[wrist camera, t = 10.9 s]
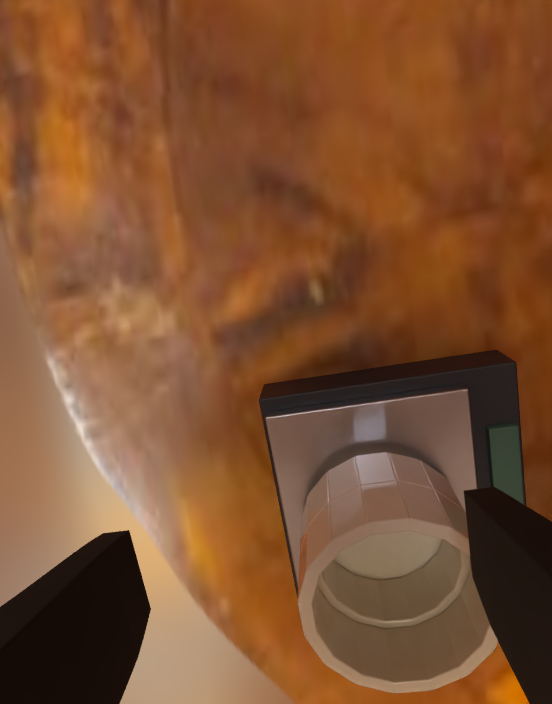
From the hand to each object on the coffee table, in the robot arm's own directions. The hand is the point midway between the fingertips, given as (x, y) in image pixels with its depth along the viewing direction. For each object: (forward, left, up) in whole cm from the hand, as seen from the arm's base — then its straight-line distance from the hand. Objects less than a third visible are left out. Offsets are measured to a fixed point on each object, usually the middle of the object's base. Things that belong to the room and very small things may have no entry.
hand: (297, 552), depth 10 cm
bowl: (-2, +4, -7) cm, 8 cm away
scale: (-3, +4, -9) cm, 11 cm away
